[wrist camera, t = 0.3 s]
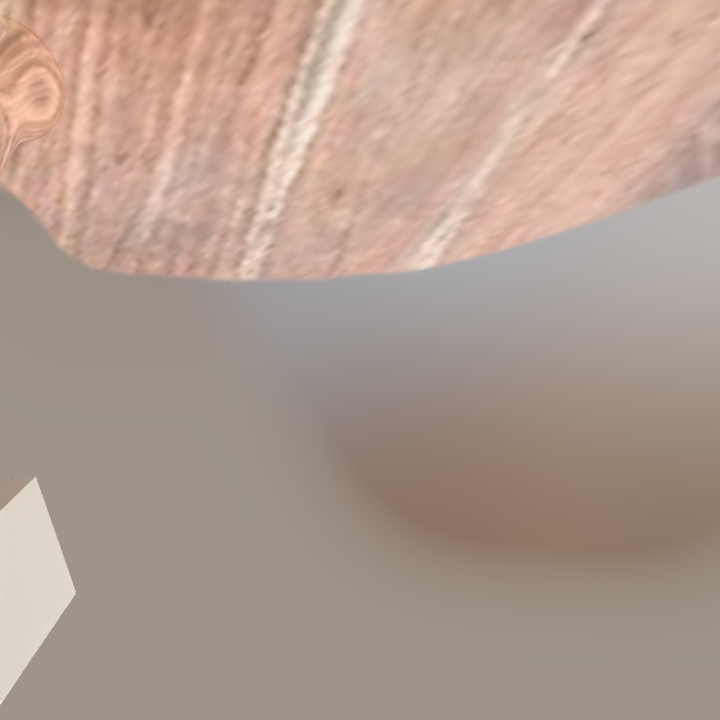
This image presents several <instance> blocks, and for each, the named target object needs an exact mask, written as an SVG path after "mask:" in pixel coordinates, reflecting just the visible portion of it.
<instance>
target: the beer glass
mask: <svg viewBox="0 0 720 720" xmlns="http://www.w3.org/2000/svg"><path fill="white" fill-rule="evenodd" d="M64 101H65V89H64V82H63V78H62V75H61V72H60V69H59V67H58V65H57V63H56V61H55V59H54V57H53V56H52V54H51V53H50V51H49V50H48V48H47V47H46V46H45V45H44V43H43V42H42V41H41V40H40V39H39V38H38V37H37V36H36V35H35V34H33V33H32V32H31V31H30V30H28V29H27V28H26V27H24V26H22V25H21V24H19V23H17V22H15V21H13V20H11V19H9V18H6V17H3V16H0V177H1V175H2V173H3V171H4V170H5V168H6V166H7V164H8V162H9V160H10V158H11V156H12V154H13V152H14V151H15V149H16V147H17V146H18V145H19V144H20V143H22V142H25V141H28V140H31V139H34V138H37V137H39V136H42V135H43V134H45V133H46V132H48V131H49V130H50V129H51V128H52V127H53V126H54V125H55V124H56V123H57V121H58V119H59V118H60V116H61V113H62V110H63V107H64Z"/></svg>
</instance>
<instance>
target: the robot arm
mask: <svg viewBox="0 0 720 720" xmlns="http://www.w3.org/2000/svg"><path fill="white" fill-rule="evenodd" d="M75 594H76V591H75V589H74V586H73V583H72V580H71V577H70V574H69V572H68V568H67V566H66V563H65V560H64V557H63V555H62V551H61V548H60V545H59V543H58V539H57V537H56V534H55V531H54V528H53V525H52V523H51V519H50V517H49V514H48V511H47V508H46V505H45V502H44V499H43V496H42V493H41V491H40V488H39V485H38V482H37V479H36V477H28V478H19V479H10V480H2V481H0V704H1V703H2V701H3V700H4V698H5V697H6V696H7V694H8V693H9V691H10V690H11V688H12V687H13V685H14V684H15V682H16V681H17V679H18V678H19V676H20V675H21V673H22V672H23V670H24V669H25V667H26V666H27V665H28V663H29V662H30V660H31V659H32V657H33V656H34V654H35V653H36V651H37V650H38V648H39V647H40V645H41V644H42V642H43V641H44V639H45V638H46V637H47V635H48V634H49V632H50V631H51V629H52V628H53V626H54V625H55V623H56V622H57V620H58V619H59V617H60V616H61V614H62V613H63V611H64V610H65V608H66V607H67V605H68V604H69V603H70V601H71V599H72V598H73V597H74V595H75Z"/></svg>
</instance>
